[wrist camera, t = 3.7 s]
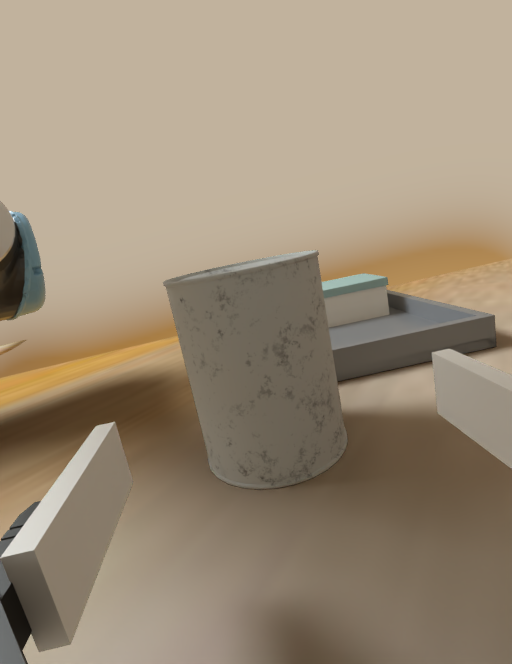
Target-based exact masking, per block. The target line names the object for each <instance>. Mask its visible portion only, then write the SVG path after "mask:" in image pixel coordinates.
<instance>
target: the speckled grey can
mask: <svg viewBox="0 0 512 664" xmlns="http://www.w3.org/2000/svg"><path fill="white" fill-rule="evenodd" d="M318 255H319V253H318V250H317V251H316V250H314V251H305V252H297V253H291V254H285V255H279V256H273V257H268V258H262V259H257V260H252V261H247V262H242V263H237V264H232V265H227V266H223V267H218V268H213V269H209V270H204V271H200V272H196V273H191V274H187V275H183V276H180V277H176V278H172V279H169V280H166V281H164V282H163V284H164V286H166V289H167V294H168V297H169V301H170V305H171V309H172V313H173V318H174V321H175V326H176V330H177V333H178V338H179V342H180V346H181V350H182V354H183V358H184V362H185V366H186V370H187V374H188V378H189V382H190V386H191V390H192V394H193V398H194V402H195V406H196V410H197V414H198V418H199V422H200V425H201V429H202V433H203V437H204V441H205V445H206V449H207V453H208V463H209V466H210V469H211V471H212V472H213V473H214V474H215V476H216V477H217V478H218V479H220V480H222V481H224V482H225V483H227V484H230V485H233V486H237V487H240V488H247V489H259V490H260V489H274V488H281V487H286V486H290V485H295V484H298V483H301V482H303V481H306V480H309V479H312V478H314V477H316V476H317V475H319V474H321V473H323V472H324V471H326V470H328V469H329V468H330V467H331V466H333V465H334V464H335V463H336V462H337V461H338V460H339V459H340V457H341V456H342V455H343V453H344V452H345V449H346V446H347V442H348V439H347V432H346V429H345V428H344V422H343V415H342V409H341V403H340V396H339V390H338V384H337V377H336V371H335V365H334V358H333V352H332V346H331V339H330V333H329V327H328V320H327V314H326V308H325V301H324V295H323V289H322V282H321V276H320V270H319V264H318V257H317V256H318Z"/></svg>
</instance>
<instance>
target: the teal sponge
mask: <svg viewBox="0 0 512 664" xmlns="http://www.w3.org/2000/svg"><path fill="white" fill-rule="evenodd" d="M386 285H388V279H387V277H383V276H376V275H369V274H359V275H354V276H349V277H345V278H340V279H335V280H330V281H325V282H322V289H323V295H324V301H325V308H326V314H327V320H328V327H334V326H339V325H343V324H348V323H353V322H357V321H362V320H367V319H371V318H376V317H381V316H385V315H390V314H389V306H388V297H387V289H386Z"/></svg>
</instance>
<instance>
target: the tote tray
mask: <svg viewBox="0 0 512 664" xmlns="http://www.w3.org/2000/svg"><path fill="white" fill-rule="evenodd" d="M387 297H388V306H389V314H390V315H385V316H381V317H376V318H371V319H367V320H362V321H357V322H353V323H348V324H343V325H339V326H334V327H329V333H330V339H331V346H332V352H333V358H334V365H335V371H336V377H337V381H342V380H346V379H351V378H355V377H360V376H364V375H369V374H373V373H378V372H382V371H387V370H392V369H396V368H401V367H405V366H410V365H414V364H419V363H423V362H428V361H432V352H436V351H440V350H445V349H452V350H454V351H456V352H459V353H461V354H464V353H469V352H473V351H478V350H482V349H487V348H491V347H496V331H495V315H492V314H488V313H483V312H479V311H475V310H471V309H466V308H462V307H458V306H454V305H449V304H445V303H441V302H436V301H432V300H428V299H424V298H419V297H415V296H411V295H406V294H402V293H398V292H394V291H389V290H387Z"/></svg>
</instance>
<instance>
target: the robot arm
mask: <svg viewBox="0 0 512 664" xmlns="http://www.w3.org/2000/svg"><path fill="white" fill-rule="evenodd" d="M44 301H45V283H44V276H43V272H42V269H41V262H40V256H39V252H38V248H37V244H36V240H35V237H34V234H33V231H32V228H31V226H30V223H29V221H28V219H27V218H26V217H25V215H23V214H21V213H19V212H12V211H8V209H7V208H6V207H5V205H4V204H3V203H2V202H1V201H0V321H2V320H14V319H16V318H17V317H19V316H22V315H26V314H29V313H33V312H36V311H38V310H39V309H40V308H41V307H42V306H43V304H44ZM432 361H433V371H434V382H435V392H436V402H437V413H438V414H439V415H441V416H442V417H443V418H445V419H446V420H447V421H449V422H450V423H451V424H452V425H454V426H455V427H456V428H458V429H459V430H460V431H462V432H463V433H464V434H466V435H467V436H468V437H470V438H471V439H472V440H474V441H475V442H476V443H478V444H479V445H480V446H482V447H483V448H484V449H486V450H487V451H488V452H490V453H491V454H492V455H494V456H495V457H496V458H498V459H499V460H500V461H502V462H503V463H504V464H506V465H507V466H508V467H510V468H511V469H512V375H510V374H508V373H506V372H503V371H501V370H499V369H496V368H494V367H492V366H489V365H487V364H485V363H482V362H480V361H478V360H475V359H473V358H471V357H468V356H466V355H464V354H461V353H459V352H456V351H454V350H452V349H445V350H440V351H436V352H432ZM132 485H133V479H132V476H131V472H130V469H129V466H128V462H127V459H126V456H125V453H124V449H123V446H122V443H121V439H120V436H119V433H118V430H117V426H116V423H115V422H111V423H107V424H102V425H98V426H95V428H94V429H93V431H92V432H91V433H90V435H89V436H88V437H87V439H86V440H85V442H84V443H83V444H82V446H81V447H80V448H79V450H78V451H77V453H76V454H75V455H74V457H73V458H72V459H71V461H70V462H69V464H68V465H67V466H66V468H65V469H64V470H63V472H62V473H61V475H60V476H59V477H58V479H57V480H56V481H55V483H54V484H53V486H52V487H51V488H50V490H49V491H48V492H47V494H46V495H45V497H44V498H43V499H42V501H39V502H35V503H33V504H32V505H31V506H30V507H29V508H27V509H26V510H25V511H24V512H23V513H21V514H20V515H19V516H18V518H17V519H16V520H15V522H14V523H13V524H12V525H11V527H10V530H8V531H7V532H6V533H5V535H4V536H3V537H2V538H1V541H0V664H28V663H27V661H26V658H25V656H24V654H23V651H22V650H23V648H24V646H25V644H26V642H27V640H28V638H29V636H30V634H32V636H33V639H34V641H35V644H36V646H37V648H38V651H39V652H41V651H45V650H49V649H54V648H58V647H62V646H66V645H70V644H71V642H72V640H73V637H74V634H75V632H76V629H77V627H78V624H79V621H80V619H81V616H82V614H83V611H84V609H85V606H86V603H87V601H88V598H89V596H90V593H91V590H92V588H93V585H94V583H95V580H96V578H97V575H98V572H99V570H100V567H101V565H102V562H103V559H104V557H105V554H106V552H107V549H108V547H109V544H110V541H111V539H112V536H113V534H114V531H115V528H116V526H117V523H118V521H119V518H120V516H121V513H122V510H123V508H124V505H125V503H126V500H127V497H128V495H129V492H130V490H131V487H132Z"/></svg>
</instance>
